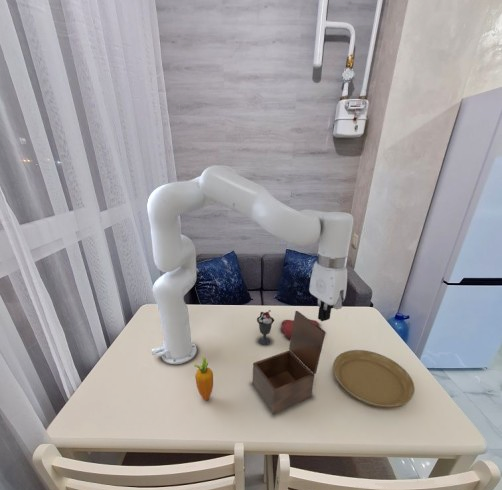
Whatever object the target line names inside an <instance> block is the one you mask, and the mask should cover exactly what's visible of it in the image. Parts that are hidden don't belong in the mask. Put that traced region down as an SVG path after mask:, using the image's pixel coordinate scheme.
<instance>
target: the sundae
mask: <svg viewBox="0 0 502 490" xmlns="http://www.w3.org/2000/svg"><path fill="white" fill-rule="evenodd" d="M270 312H271V309H270V310H268V311H266V312H264V311H260V314H259V316H258V317H256V321H257V324H258V327H259V332H260V334H262V335H263V336H262V337H260V338H259V339H258V343H259V344H260V345H262V346H268V345H270V344H271V343H272V340H271V339H270V338H269V337H267V335H269V334H270V333H271V330H272V325H273V323H274V322H275V318H273V317H272V316H271V314H270Z"/></svg>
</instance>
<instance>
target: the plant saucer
mask: <svg viewBox="0 0 502 490" xmlns="http://www.w3.org/2000/svg"><path fill="white" fill-rule="evenodd" d="M332 369H333V374H334V376H335V378H336V381H337V382H338V383H339V386H341V387H342V388H343V389H344V391H345V392H347V393H348V394H349V395H350V396H352V397H353V398H354V399H356V400H358V401H360V402H363V403H365V404H367V405H369V406H373V407H377V408H388V409H389V408H398V407H400V406H404V405H406V404H407V403H408V402H410V401H411V400H412V399H413V398H414V395H415V388H416V387H415V384H414V380H413V379H412V377H411V376H410V374H409V373H408V372H407V370H406V369H405V368H403V366H401V364H399V363H398V362H396V361H395V360H393V359H392V358H389V357H388V356H385V355H383V354H381V353H377V352H375V351H370V350H365V349H351V350H346V351H343V352H341V353H339V354H338V355H337V356H336V357H335V359H334V361H333V364H332Z"/></svg>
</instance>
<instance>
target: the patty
mask: <svg viewBox="0 0 502 490" xmlns="http://www.w3.org/2000/svg"><path fill="white" fill-rule="evenodd" d="M308 319H309V320H310V321H312V322H313V323H314V324H316V325H317V326H318V327H320V323H319V322H318V321H317V320H314V319H310V318H308ZM293 323H294V319H292V320H291V319H284V320H283V321H282V322H281V328H280V330H281V332H282V334H283V335H285V337H286V339H288V340H289V341H290V340H291V334H292V328H293Z"/></svg>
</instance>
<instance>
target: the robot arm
mask: <svg viewBox="0 0 502 490" xmlns="http://www.w3.org/2000/svg"><path fill="white" fill-rule="evenodd" d="M215 203H218V204H219V205H222V206H224V207H226V208H228V209H231V210H233V211H235V212H236V213H238V214H241V215H243V216H245V217H247V218H249V219H251V220H252V222H254V223H255V224H256V225H258V226H260V228H262V229H264V230H265V231H266V232H268V233H270V234H271V235H273V236H275V237H277V238H278V239H281V240H284V241H286V242H287V243H290V244H292V245H294V246H298V247H309V246H312V245H313V244H315V243H316V242H317V241H318V240H319V243H318V252H317V253H316V254H317V259H316V261H315V262H314V265H313V268H312V271H311V274H310V275H311V276H310V281H309V289H308V290H309V293H310V294H311V295H312V296H314V297H315V298H316V300H317V306H318V314H317V319H318V320H320V322H325V321H328V320H330V318H331V314H332V313H331V312H332V309H334V310H335V309H336V310H340V309H342V308H343V303H344V302H345V299H346V296H347V287H348V268H347V263H348V256H349V250H350V244H351V238H352V232H353V226H354V216H353V215H352V214H351V213H348V212H344V211H329V212H328V211H321V210H317V209H316V210H315V209H302V210H297V209H294V208H292V207H290V206H288V205H286V204H285V203H283V202H282V201H279V200H278V199H277V198H276V197H274V196H273V195H272V193H271V192H270V191H269V190H268V189H267V188H266V187H265V186H263V185H262V184H259V183H257V182H254V181H252V180H250V179H248V178H246V177H244V176H242V175H240V174H239V173H238V172H237V171H236V169H234V168H233V167H231V166H229V165H221V164H220V165H219V164H217V165H210V166H208V167H207V168H205V169H204V170H203V171H202V173H201V174H200V176H196V177H195V178H193V179H189V180H183V181H172V182H169V183H165V184H163V185H160V186H158V187H157V188H155V189H154V190H153V191H152V192H151V194H150V195H149V197H148V200H147V216H148V221H149V226H150V238H151V247H152V256H153V262H154V265H155V267H156V268H157V270H159V271H161V272H163V273H164V274H162V275H160V276H159V277H158V278H157V279H156V280H155V282H154V284H153V286H152V295H153V298H154V300H155V304H156V306H157V310H158V315H159V320H160V326H161V332H162V339H163V342H162V345H160V346H159V347H155V348H151V349H150V352H151V354H152V356H154V355H155V356H156V358H158V357H161V359H162V360H163V362H165V363H167V364H171V365H181V364H184V363H188V362H189V361H191V360H192V359H194V357H195V356H196V355H197V353H198V352H197V346H196V344H195V343H194V342H193V341H192V334H191V333H192V332H191V323H190V314H189V308H188V305H187V303H186V302H185V300H184V299H185V295H187V293H188V292H190V290H191V289H192V288H193V287H194V286H195V284H196V282H197V251H196V246H195V244H194V242H193V241H192V239H191V238H189V236H188V235H185V234H182V229H181V224H180V221H179V219H178V217H179V216H181V215H185V214H188V213H192V212H194V211H197V210H199V209H201V208H205V207H207V206H209V205H212V204H215Z"/></svg>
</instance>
